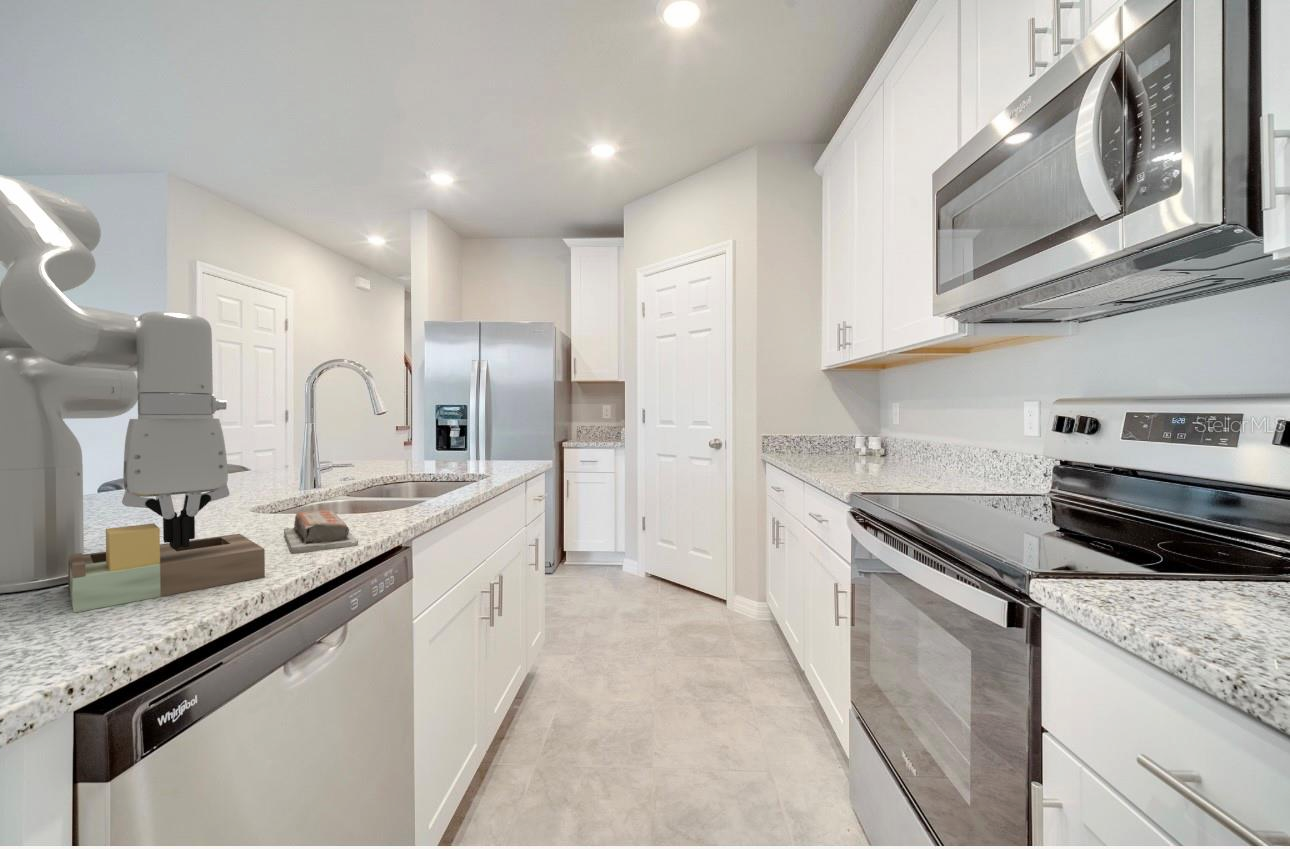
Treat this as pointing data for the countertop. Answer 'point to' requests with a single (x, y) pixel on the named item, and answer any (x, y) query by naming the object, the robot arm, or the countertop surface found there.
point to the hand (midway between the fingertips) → (179, 546)
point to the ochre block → (132, 546)
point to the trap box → (164, 572)
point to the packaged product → (318, 532)
